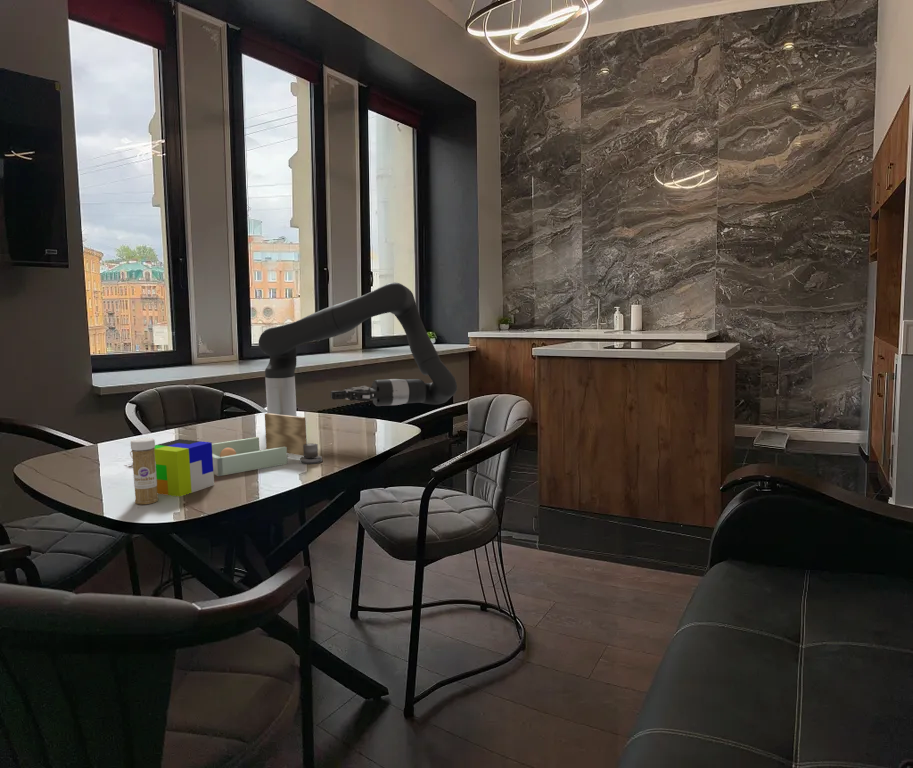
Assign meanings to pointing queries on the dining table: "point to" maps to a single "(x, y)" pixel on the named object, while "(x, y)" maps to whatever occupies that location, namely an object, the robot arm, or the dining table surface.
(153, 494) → the sprinkles bottle
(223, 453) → the ball
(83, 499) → the dining table surface
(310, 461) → the pivot disc
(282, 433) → the tan wooden flat panel
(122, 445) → the dining table surface
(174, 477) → the puzzle toy
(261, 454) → the tray
